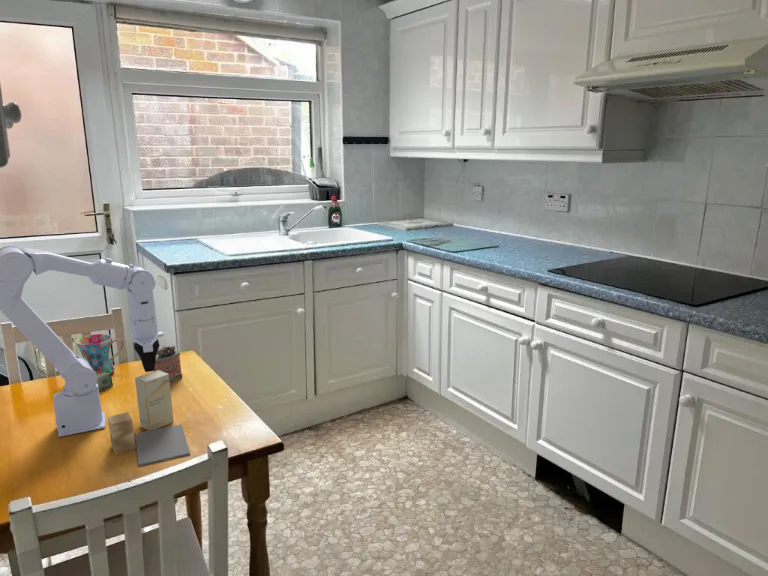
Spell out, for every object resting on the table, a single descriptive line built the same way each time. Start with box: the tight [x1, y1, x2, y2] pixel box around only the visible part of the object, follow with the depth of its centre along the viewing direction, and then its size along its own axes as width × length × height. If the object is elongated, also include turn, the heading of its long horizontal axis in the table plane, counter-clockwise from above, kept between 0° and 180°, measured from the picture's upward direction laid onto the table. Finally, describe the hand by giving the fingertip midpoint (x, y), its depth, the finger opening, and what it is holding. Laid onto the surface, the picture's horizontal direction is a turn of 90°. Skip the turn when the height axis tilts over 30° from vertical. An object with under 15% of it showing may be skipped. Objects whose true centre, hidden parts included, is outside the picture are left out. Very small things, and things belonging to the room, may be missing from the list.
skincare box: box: [134, 370, 174, 431], centre depth 132 cm, size 6×4×12 cm
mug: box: [75, 333, 124, 375], centre depth 162 cm, size 12×9×11 cm
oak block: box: [107, 411, 137, 455], centre depth 122 cm, size 4×4×7 cm
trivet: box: [134, 423, 191, 467], centre depth 124 cm, size 10×14×1 cm
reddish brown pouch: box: [153, 344, 183, 384], centre depth 156 cm, size 8×3×10 cm, turn 144°
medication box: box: [62, 372, 114, 392], centre depth 150 cm, size 12×3×4 cm, turn 147°
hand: (149, 370), depth 140 cm, fingers closed
